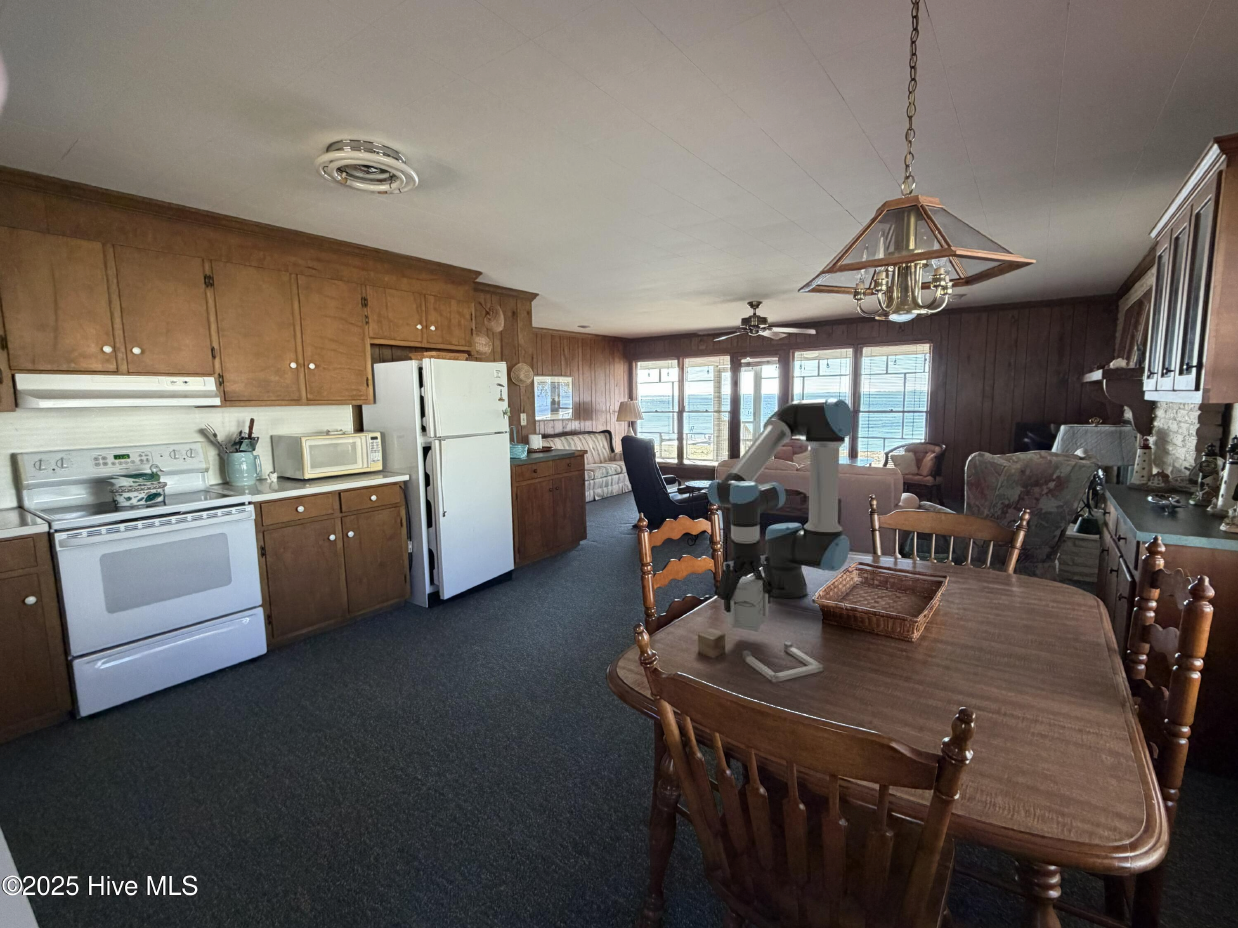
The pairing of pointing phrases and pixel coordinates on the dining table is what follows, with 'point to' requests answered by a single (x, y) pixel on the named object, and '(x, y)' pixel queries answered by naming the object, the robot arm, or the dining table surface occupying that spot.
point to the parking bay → (785, 675)
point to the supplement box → (748, 604)
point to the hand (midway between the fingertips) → (747, 618)
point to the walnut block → (711, 642)
